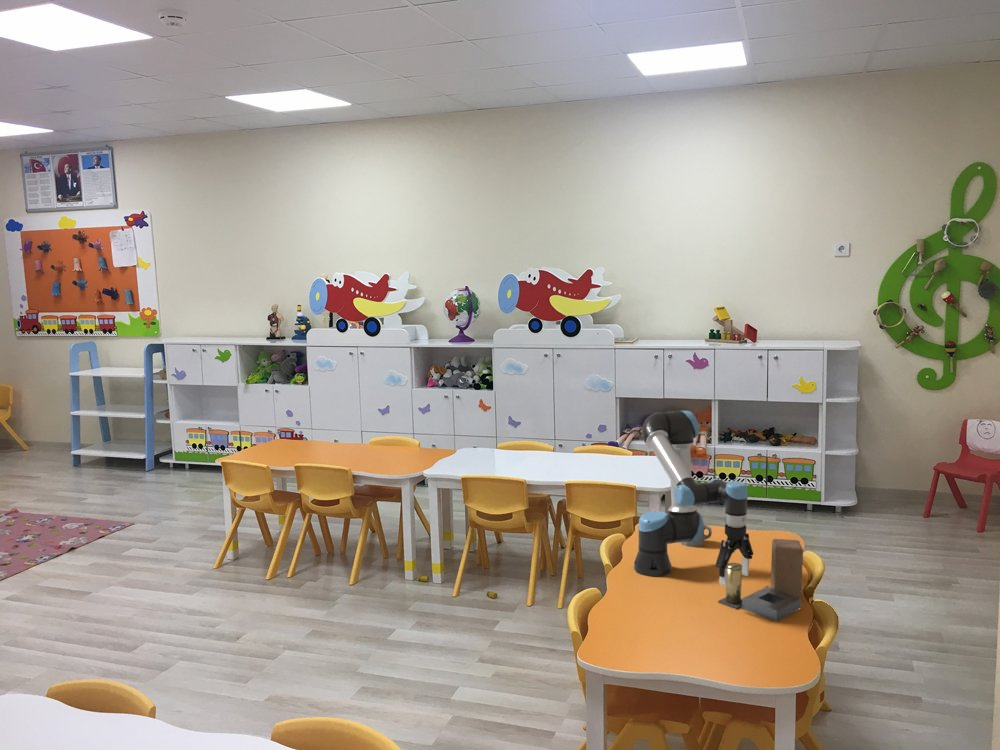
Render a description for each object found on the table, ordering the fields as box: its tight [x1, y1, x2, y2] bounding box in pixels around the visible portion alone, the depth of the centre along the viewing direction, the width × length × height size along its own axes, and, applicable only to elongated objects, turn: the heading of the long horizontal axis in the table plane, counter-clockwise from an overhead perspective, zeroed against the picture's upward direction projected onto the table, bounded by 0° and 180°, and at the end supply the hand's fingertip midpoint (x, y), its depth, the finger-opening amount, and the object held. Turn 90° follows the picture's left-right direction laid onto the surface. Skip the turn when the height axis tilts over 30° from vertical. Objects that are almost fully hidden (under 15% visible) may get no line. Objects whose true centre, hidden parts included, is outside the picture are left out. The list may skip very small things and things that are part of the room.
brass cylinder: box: [725, 562, 743, 604], centre depth 301 cm, size 5×5×14 cm
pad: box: [717, 597, 742, 610], centre depth 302 cm, size 8×8×1 cm
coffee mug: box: [680, 521, 713, 548], centre depth 364 cm, size 13×10×10 cm
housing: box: [741, 586, 802, 623], centre depth 296 cm, size 14×16×4 cm
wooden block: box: [770, 538, 804, 599], centre depth 308 cm, size 10×10×20 cm
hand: (734, 579), depth 300 cm, fingers open, 13 cm apart
